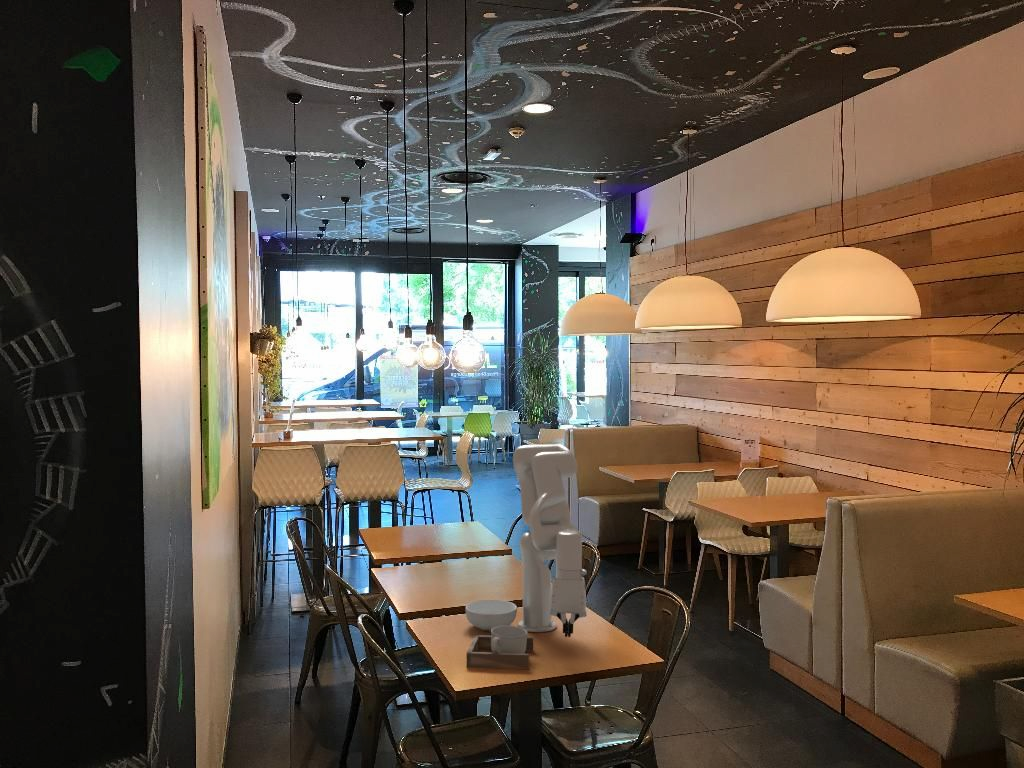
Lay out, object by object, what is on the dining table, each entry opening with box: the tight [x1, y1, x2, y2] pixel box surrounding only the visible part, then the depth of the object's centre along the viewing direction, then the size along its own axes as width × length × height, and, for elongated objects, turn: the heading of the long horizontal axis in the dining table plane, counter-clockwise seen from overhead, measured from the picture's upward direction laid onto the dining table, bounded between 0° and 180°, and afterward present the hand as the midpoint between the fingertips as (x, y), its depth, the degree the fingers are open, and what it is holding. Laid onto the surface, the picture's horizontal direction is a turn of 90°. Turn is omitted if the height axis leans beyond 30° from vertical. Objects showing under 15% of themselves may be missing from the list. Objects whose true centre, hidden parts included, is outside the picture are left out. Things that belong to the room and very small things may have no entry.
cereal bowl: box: [465, 599, 518, 631], centre depth 271 cm, size 17×17×7 cm
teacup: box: [490, 625, 529, 654], centre depth 241 cm, size 14×11×8 cm
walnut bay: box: [466, 634, 534, 670], centre depth 241 cm, size 16×18×4 cm
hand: (567, 635), depth 239 cm, fingers closed
